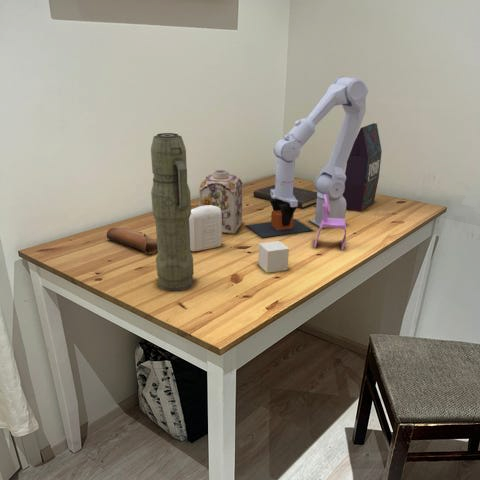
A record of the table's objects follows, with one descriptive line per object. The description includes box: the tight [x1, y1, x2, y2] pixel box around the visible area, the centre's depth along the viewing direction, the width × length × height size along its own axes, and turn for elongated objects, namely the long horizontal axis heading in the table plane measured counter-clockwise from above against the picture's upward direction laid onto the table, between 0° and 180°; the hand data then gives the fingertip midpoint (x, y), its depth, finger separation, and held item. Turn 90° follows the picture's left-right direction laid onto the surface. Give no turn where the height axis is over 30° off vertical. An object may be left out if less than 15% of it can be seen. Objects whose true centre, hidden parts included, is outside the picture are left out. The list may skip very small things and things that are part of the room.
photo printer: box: [189, 205, 223, 252], centre depth 139 cm, size 10×4×12 cm, turn 123°
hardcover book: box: [253, 184, 317, 209], centre depth 188 cm, size 16×23×2 cm
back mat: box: [246, 218, 313, 239], centre depth 157 cm, size 18×12×1 cm, turn 113°
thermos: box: [150, 132, 195, 292], centre depth 112 cm, size 9×12×35 cm
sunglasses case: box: [106, 227, 158, 255], centre depth 143 cm, size 18×7×7 cm, turn 51°
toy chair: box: [314, 194, 347, 251], centre depth 141 cm, size 8×9×15 cm
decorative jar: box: [198, 169, 243, 235], centre depth 153 cm, size 12×12×18 cm
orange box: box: [270, 210, 295, 230], centre depth 156 cm, size 6×5×5 cm
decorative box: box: [342, 122, 383, 212], centre depth 175 cm, size 8×16×28 cm, turn 148°
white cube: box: [257, 240, 290, 274], centre depth 129 cm, size 6×6×6 cm
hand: (282, 223), depth 157 cm, fingers closed on orange box, 4 cm apart
